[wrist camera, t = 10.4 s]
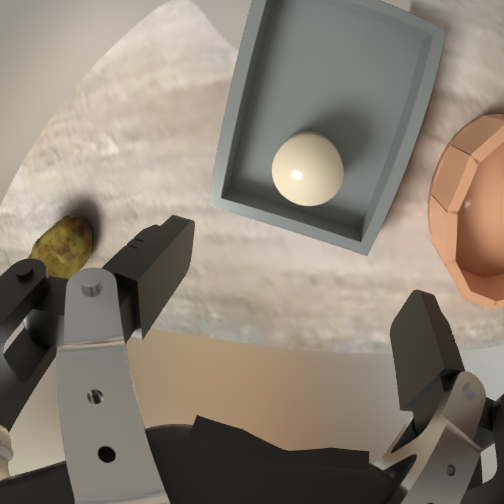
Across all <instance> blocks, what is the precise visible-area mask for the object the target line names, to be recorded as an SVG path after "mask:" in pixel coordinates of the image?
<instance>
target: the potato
mask: <svg viewBox="0 0 504 504" xmlns="http://www.w3.org/2000/svg"><path fill="white" fill-rule="evenodd" d="M91 249H92V233H91V228H90V226H89V224H88V223H87V222H86V220H85V219H84V218H83V217H81V216H77V215H71V216H70V215H69V216H66V217H64V219H62V220H60V221H59V222H57V223H56V224H55V225H54V226H52V227H51V228H50V229H49V230H48V231H46V232H45V233H44V234H43V235H42V236H41V237H40V238H39V239H37V241H36V242H35V244H34V246H33V248H32V252H31V254H30V256H29V257H28V259H29V258H34V259H38V260H40V261H42V262H43V263H44V264H45V266H46V270H47V274H48V276H52V277H58V278H65V279H70V277H71V276H72V275H74V274H75V273H76V272H78V271H79V270H80V269H81V268H82V267H83V266H84V265H85V263H86V262H87V260H88V258H89V255H90V253H91Z"/></svg>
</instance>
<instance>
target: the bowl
mask: <svg viewBox="0 0 504 504" xmlns="http://www.w3.org/2000/svg"><path fill="white" fill-rule="evenodd" d="M428 218H429V227H430V232H431V236H432V243H433V245H434V247H435V248H436V250H437V252H438V254H439V255H440V257H441V259H442V261H443V262H444V264H445V266H446V268H447V270H448V271H449V273H450V275H451V277H452V279H453V280H454V282H455V284H456V286H457V288H458V290H459V292H460V294H461V296H462V298H463V299H465V300H468V301H471V302H473V303H476V304H479V305H482V306H484V307H487V308H490V309H496V308H500V307H504V114H489V115H483V116H482V117H479V118H477V119H475V120H473V121H471V122H470V123H468V124H467V125H466V126H464V127H463V128H462V129H461V130H460V131H459V132H458V133H457V134H456V135H455V136H454V137H453V138H452V140H451V141H450V142H449V144H448V145H447V147H446V148H445V150H444V152H443V153H442V155H441V157H440V160H439V162H438V164H437V166H436V169H435V172H434V175H433V178H432V183H431V187H430V193H429V201H428Z"/></svg>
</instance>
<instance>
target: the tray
mask: <svg viewBox="0 0 504 504" xmlns="http://www.w3.org/2000/svg"><path fill="white" fill-rule="evenodd" d="M445 36H446V31H445V30H443V29H441V28H439V27H437V26H436V25H434V24H432V23H430V22H428V21H426V20H424V19H422V18H420V17H418V16H416V15H413V14H411V13H409V12H407V11H405V10H402V9H400V8H398V7H395V6H393V5H390V4H388V3H385V2H383V1H380V0H252V3H251V7H250V10H249V14H248V18H247V22H246V25H245V29H244V33H243V37H242V40H241V44H240V48H239V52H238V57H237V61H236V65H235V69H234V73H233V78H232V82H231V86H230V91H229V95H228V100H227V105H226V109H225V114H224V119H223V124H222V129H221V134H220V139H219V144H218V149H217V154H216V160H215V165H214V171H213V176H212V182H211V188H210V193H209V199H208V205H207V206H210V207H214V208H217V209H220V210H224V211H227V212H231V213H234V214H237V215H241V216H244V217H247V218H250V219H254V220H257V221H260V222H264V223H267V224H270V225H273V226H276V227H280V228H283V229H286V230H289V231H292V232H296V233H299V234H302V235H305V236H308V237H311V238H314V239H317V240H320V241H323V242H326V243H330V244H333V245H336V246H339V247H342V248H345V249H348V250H351V251H354V252H356V253H359V254H362V255H365V256H367V255H368V253H369V251H370V249H371V247H372V245H373V243H374V241H375V239H376V237H377V235H378V233H379V230H380V228H381V226H382V224H383V222H384V220H385V217H386V215H387V213H388V211H389V208H390V206H391V204H392V201H393V199H394V197H395V194H396V192H397V189H398V187H399V185H400V182H401V180H402V177H403V175H404V172H405V170H406V167H407V164H408V162H409V159H410V156H411V154H412V151H413V148H414V145H415V143H416V140H417V137H418V134H419V131H420V128H421V125H422V122H423V119H424V116H425V113H426V110H427V106H428V103H429V100H430V96H431V93H432V89H433V86H434V82H435V78H436V75H437V71H438V67H439V63H440V58H441V54H442V50H443V45H444V40H445ZM305 130H311V131H317V132H320V133H322V134H324V135H326V136H327V137H329V138H330V139H331V140H332V141H333V142H334V144H335V145H336V147H337V149H338V151H339V154H340V158H341V161H342V164H343V169H344V176H343V182H342V185H341V187H340V189H339V190H338V192H337V193H336V194H335V196H333V197H332V198H331V199H330V200H328V201H327V202H325V203H322V204H320V205H315V206H303V205H299V204H296V203H293V202H291V201H289V200H288V199H287V198H285V197H284V196H283V195H282V194H281V193H280V192H279V190H278V189H277V187H276V186H275V183H274V181H273V177H272V164H273V160H274V157H275V155H276V153H277V152H278V150H279V149H280V148H281V146H282V145H283V144H284V142H285V141H286V140H287V139H288V138H289V137H290V136H292V135H293V134H295V133H297V132H300V131H305Z"/></svg>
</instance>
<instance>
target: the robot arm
mask: <svg viewBox="0 0 504 504" xmlns="http://www.w3.org/2000/svg"><path fill="white" fill-rule="evenodd" d="M194 229H195V223H194V221H193V220H190V219H186V218H183V217H179V216H176V215H172V216H171V217H170V218H169V219H168V220H167V221H166V222H164V223H163V224H162V225H161V226H159V225H153V226H151V227H148V228H146V229H143V230H142V231H141V232H140V233H138V234H137V235H136V236H135V237H134V239H132V240H131V241H130V242H129V243H127V246H124V247H123V248H122V249H121V250H120V251H119V252H118V253H117V254H116V255H115V256H114V257H112V258H111V259H110V260H109V261H108V262H107V263H106V264H105V265H104V266H103V267H102V268H86V269H83V270H80V271H78V272H76V273H75V274H74V275H72V276H71V277H70V279H65V278H58V277H52V276H48V274H47V270H46V266H45V264H44V263H43V262H42V261H40V260H38V259H34V258H29V259H24V260H21V261H18V262H16V263H15V264H13V265H12V266H11V267H10V268H9V269H8V270H7V271H6V272H4V273H3V274H2V275H1V276H0V504H504V394H503V395H502V396H501V397H500V398H499V399H497V400H496V401H493V400H491V399H489V398H487V397H486V393H485V389H484V387H483V384H482V383H481V381H480V380H479V379H478V378H477V377H476V376H475V375H474V374H472V373H470V372H466V371H465V369H464V366H463V363H462V359H461V356H460V353H459V350H458V347H457V345H456V343H455V339H454V336H453V334H452V331H451V328H450V325H449V323H448V321H447V319H446V318H445V317H444V315H443V314H442V312H441V310H440V308H439V305H438V303H437V300H436V298H435V296H434V295H433V294H430V293H427V292H424V291H421V290H417V289H416V290H414V291H413V292H412V293H411V294H410V296H409V297H408V299H407V301H406V302H405V304H404V305H403V307H402V308H401V310H400V311H399V313H398V314H397V316H396V317H395V319H394V321H393V323H392V325H391V329H390V339H391V345H392V351H393V357H394V364H395V370H396V378H397V386H398V395H399V404H400V410H403V411H413V416H412V417H411V418H409V419H408V420H407V422H406V423H405V425H404V426H403V428H402V429H401V431H400V432H399V434H398V435H397V437H396V438H395V439H394V441H393V442H392V444H391V445H390V446H389V448H388V449H387V451H386V452H385V453H384V455H383V456H382V457H381V458H380V459H379V460H378V461H377V462H376V463H374V464H370V463H369V451H358V450H347V449H339V448H323V449H311V450H297V451H287V450H283V449H281V448H278V447H276V446H274V445H272V444H270V443H268V442H266V441H264V440H262V439H260V438H258V437H256V436H254V435H252V434H250V433H248V432H246V431H244V430H243V429H239V428H236V427H232V426H229V425H226V424H222V423H219V422H216V421H213V420H209V419H207V418H204V417H200V416H198V415H197V417H196V419H195V422H194V424H193V425H187V424H168V425H159V426H154V427H150V428H147V429H145V426H144V423H143V419H142V416H141V412H140V408H139V404H138V401H137V397H136V393H135V388H134V384H133V380H132V375H131V370H130V366H129V361H128V356H127V350H126V343H127V341H128V340H129V338H130V337H131V336H133V337H136V338H138V339H140V340H143V339H144V337H145V335H146V334H147V332H148V331H149V329H150V328H151V326H152V325H153V323H154V322H155V320H156V319H157V317H158V315H159V314H160V312H161V311H162V309H163V308H164V306H165V305H166V303H167V302H168V300H169V299H170V297H171V296H172V294H173V293H174V291H175V290H176V288H177V287H178V286H179V284H180V283H181V281H182V280H183V278H184V277H185V275H186V273H187V271H188V269H189V266H190V262H191V255H192V246H193V238H194ZM21 322H22V323H23V325H24V329H23V330H22V331H21V332H20V334H19V335H18V336H17V337H16V339H15V340H14V341H13V343H12V344H11V345H10V346H9V348H8V349H7V350H6V352H5V353H4V354H3V348H4V345H5V343H6V341H7V340H8V338H9V337H10V336H11V334H12V333H13V332H14V331H15V330H16V328H17V327H18V326H19V325H20V323H21ZM55 357H56V368H57V369H56V371H57V394H58V407H59V417H60V425H61V433H62V440H63V446H64V453H65V458H66V460H65V461H62V462H59V463H56V464H53V465H50V466H47V467H44V468H40V469H37V470H34V471H30V472H26V473H22V474H18V475H15V476H10V474H9V469H8V461H10V460H11V459H12V457H13V450H12V448H11V439H10V436H9V432H10V430H11V428H12V426H13V424H14V423H15V421H16V419H17V417H18V416H19V414H20V412H21V410H22V409H23V407H24V405H25V404H26V402H27V400H28V399H29V397H30V395H31V394H32V392H33V390H34V389H35V387H36V386H37V384H38V382H39V381H40V379H41V378H42V376H43V375H44V373H45V372H46V370H47V369H48V367H49V365H50V364H51V363H52V361H53V360H54V358H55ZM494 443H495V449H496V457H497V471H496V474H495V475H494V477H493V478H492V479H491V480H489V481H487V482H485V483H483V484H482V467H481V456H480V453H481V452H482V451H483V450H485V449H486V448H488V447H489V446H491V445H492V444H494Z"/></svg>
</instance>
